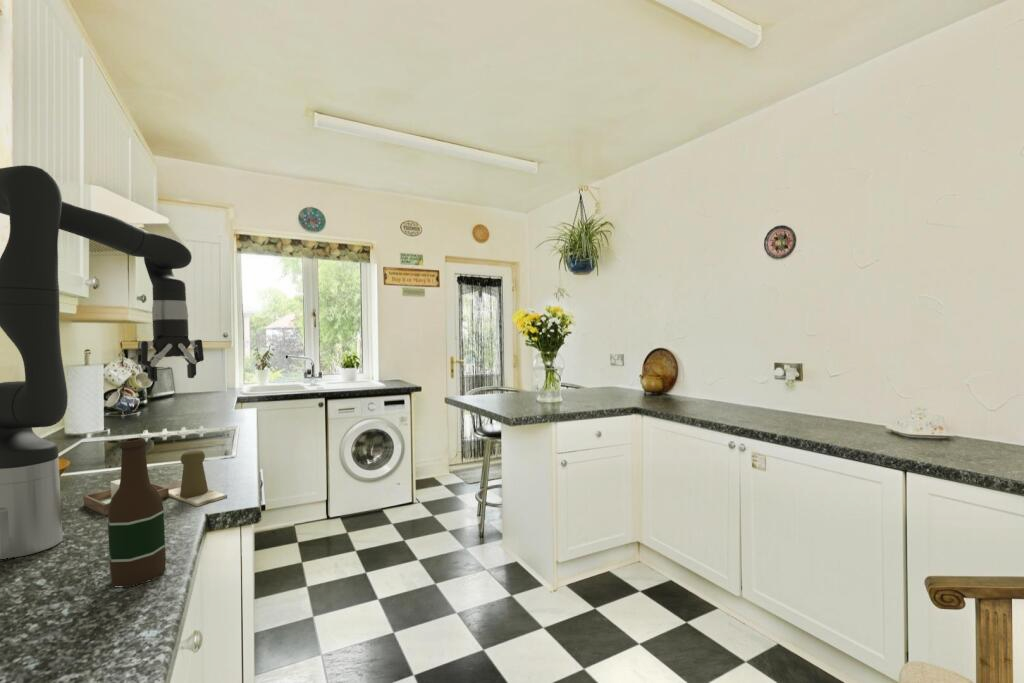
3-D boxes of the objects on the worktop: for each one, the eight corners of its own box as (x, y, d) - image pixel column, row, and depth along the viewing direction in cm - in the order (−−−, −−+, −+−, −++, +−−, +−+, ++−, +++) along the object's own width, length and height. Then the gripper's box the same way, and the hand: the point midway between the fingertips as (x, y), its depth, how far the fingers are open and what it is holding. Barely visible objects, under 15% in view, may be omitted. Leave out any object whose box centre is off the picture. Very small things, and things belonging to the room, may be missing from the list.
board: (197, 506, 112) (197, 503, 112) (152, 490, 125) (152, 487, 125) (227, 497, 118) (227, 494, 118) (181, 482, 131) (181, 480, 131)
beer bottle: (101, 593, 75) (94, 447, 74) (119, 571, 82) (113, 437, 81) (159, 582, 78) (153, 441, 77) (172, 561, 85) (166, 432, 84)
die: (118, 505, 113) (117, 484, 113) (111, 501, 116) (110, 481, 116) (143, 498, 118) (143, 478, 117) (136, 494, 120) (135, 475, 120)
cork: (185, 498, 116) (183, 455, 115) (176, 494, 119) (174, 451, 119) (212, 491, 121) (210, 450, 120) (202, 487, 124) (201, 446, 124)
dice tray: (104, 515, 108) (104, 505, 108) (83, 505, 115) (83, 495, 114) (168, 497, 119) (168, 488, 119) (146, 489, 126) (146, 480, 126)
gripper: (193, 319, 130) (195, 376, 130) (131, 318, 117) (134, 382, 118) (207, 318, 126) (209, 377, 126) (144, 317, 114) (147, 383, 114)
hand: (172, 379), depth 122 cm, fingers open, 8 cm apart
